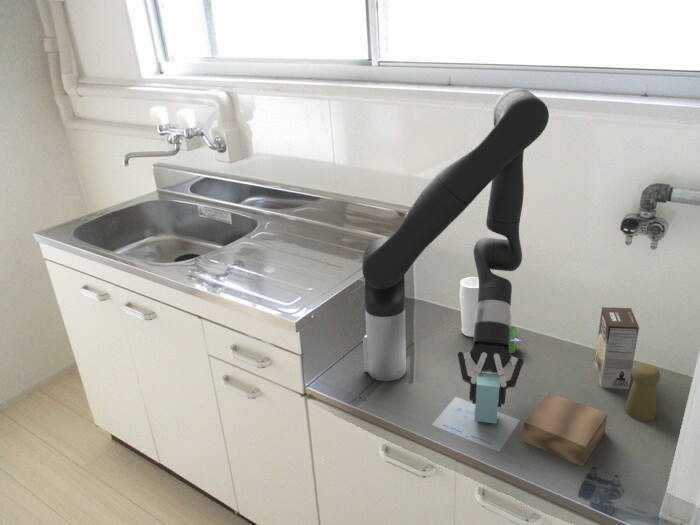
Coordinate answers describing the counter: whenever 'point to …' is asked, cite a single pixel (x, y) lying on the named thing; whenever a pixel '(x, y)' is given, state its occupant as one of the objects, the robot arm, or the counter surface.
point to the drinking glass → (469, 304)
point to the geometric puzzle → (513, 340)
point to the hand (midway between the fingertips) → (486, 404)
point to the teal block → (487, 397)
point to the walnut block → (565, 428)
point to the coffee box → (616, 347)
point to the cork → (643, 393)
